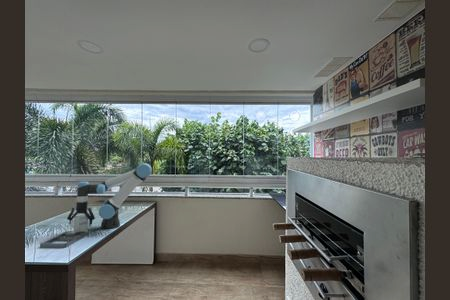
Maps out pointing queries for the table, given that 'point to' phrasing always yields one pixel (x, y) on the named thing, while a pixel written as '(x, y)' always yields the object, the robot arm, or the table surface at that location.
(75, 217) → the supplement box
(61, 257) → the table surface
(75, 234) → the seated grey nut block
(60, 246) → the grey flat rectangular frame
